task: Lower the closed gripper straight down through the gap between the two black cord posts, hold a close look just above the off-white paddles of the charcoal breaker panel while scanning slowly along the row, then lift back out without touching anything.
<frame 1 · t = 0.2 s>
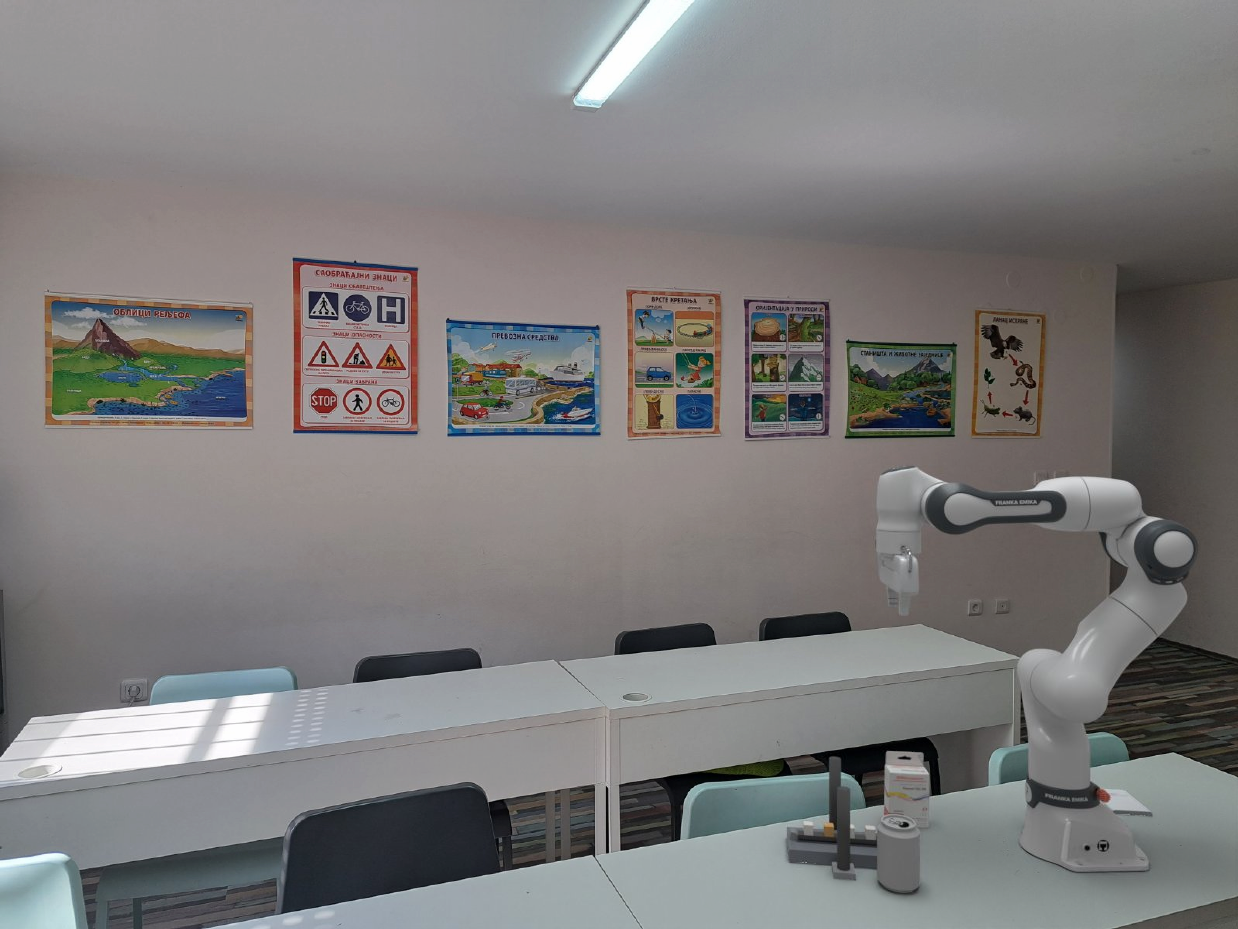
hand: (898, 611, 170), 47 cm above the table, tool pointing down, fingers open, 8 cm apart
ink cartridge box: (906, 823, 177), on the table
breaker paddles: (839, 832, 163), point 4 cm above the table, hinge at 0.0°
can: (898, 886, 151), on the table
cord post 1: (834, 836, 171), on the table
external hard drive: (1119, 807, 187), on the table
cord post 2: (843, 874, 155), on the table
breaker panel: (839, 854, 163), on the table
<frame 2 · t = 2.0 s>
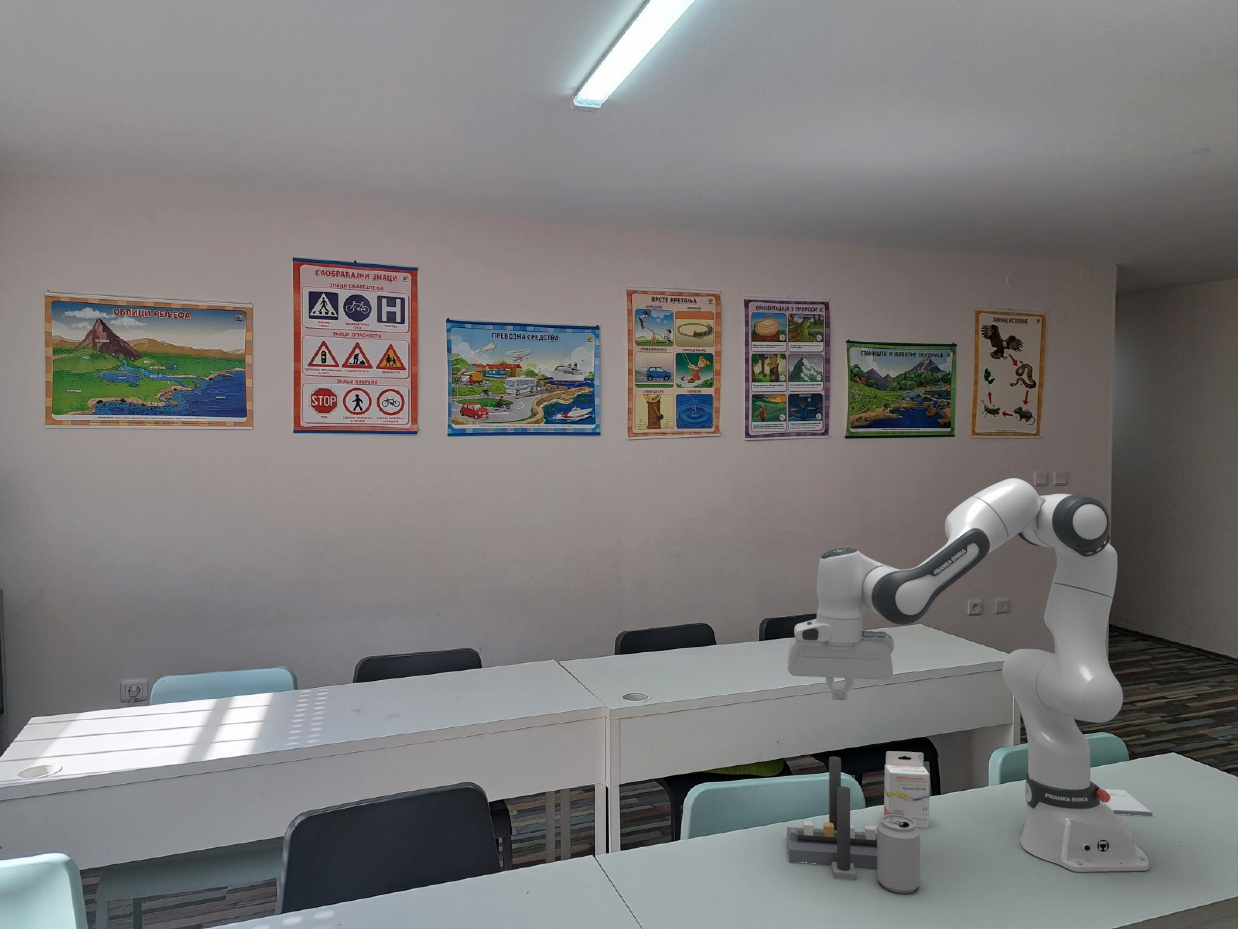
hand: (839, 699, 163), 31 cm above the table, tool pointing down, fingers closed
nothing on the table moved.
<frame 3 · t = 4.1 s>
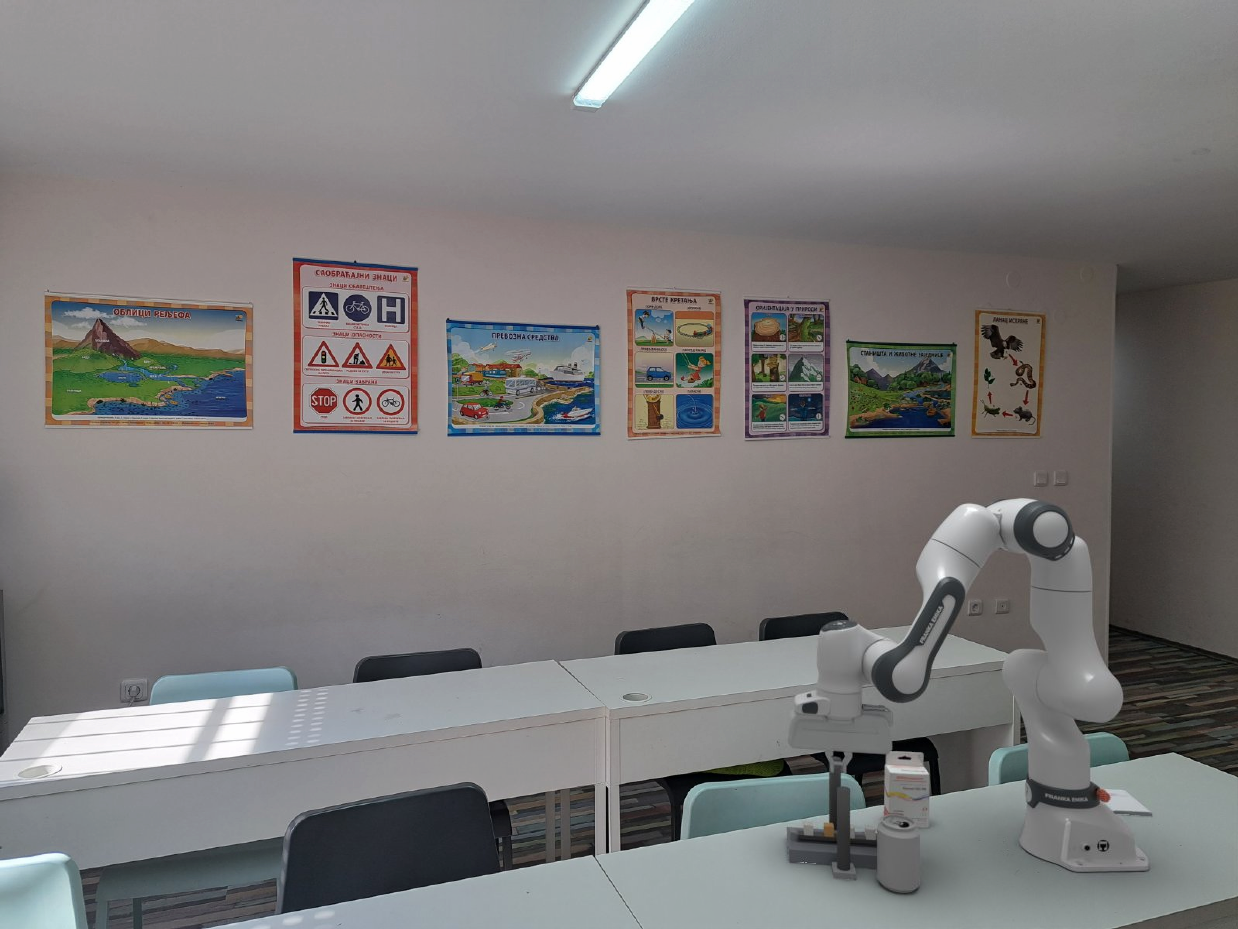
hand: (838, 772, 163), 16 cm above the table, tool pointing down, fingers closed
nothing on the table moved.
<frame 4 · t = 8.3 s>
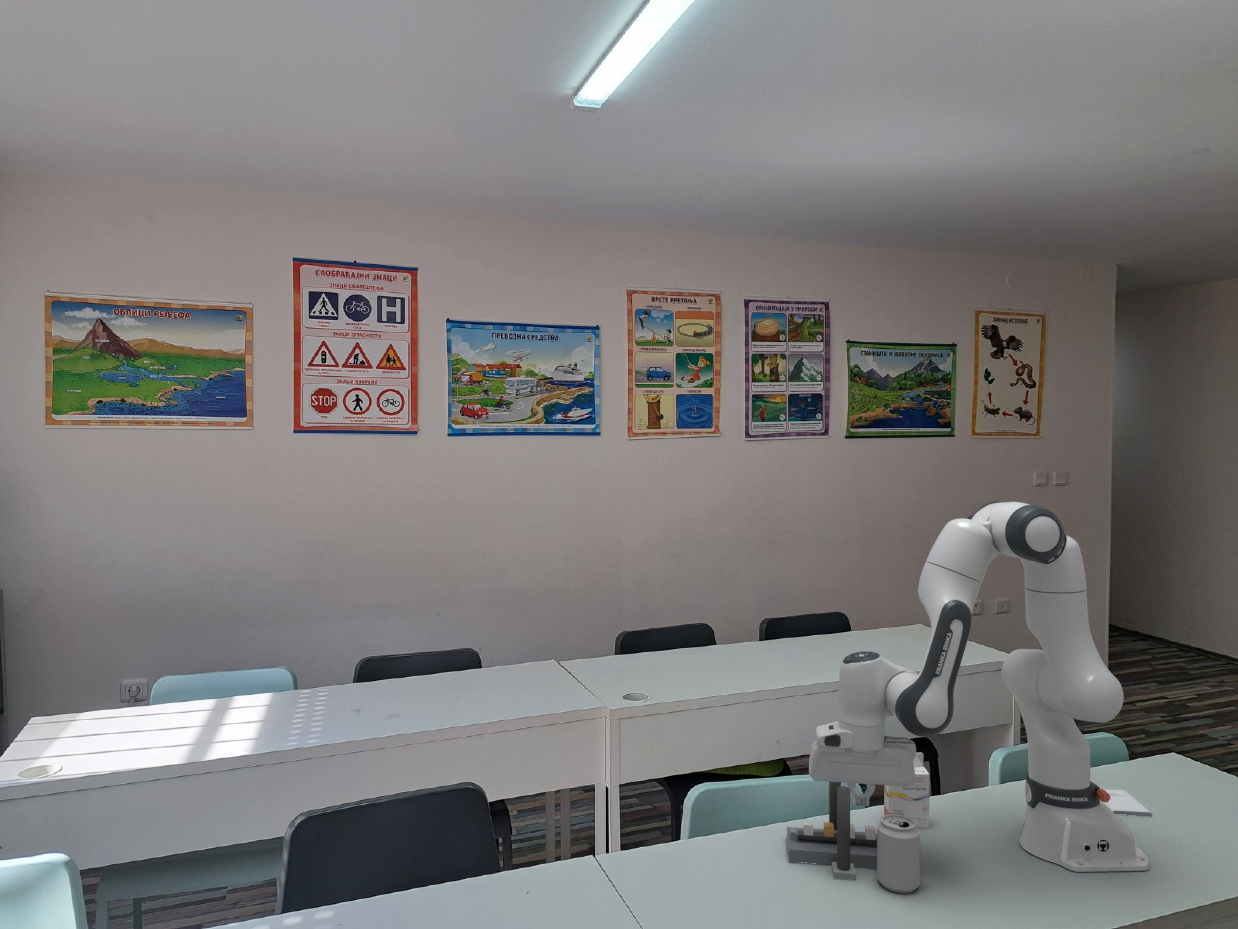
hand: (861, 804, 162), 10 cm above the table, tool pointing down, fingers closed
nothing on the table moved.
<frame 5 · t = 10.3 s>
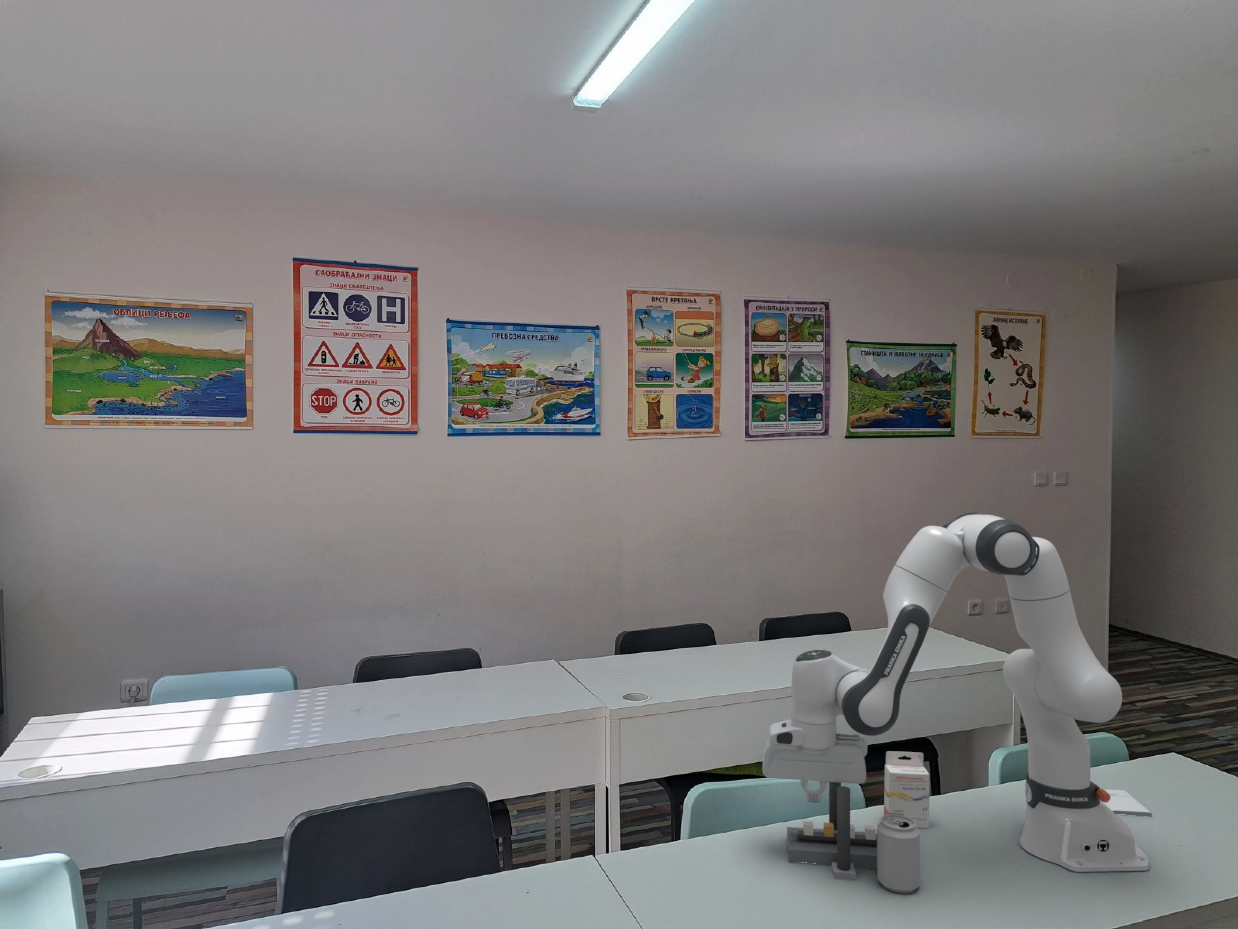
hand: (813, 801, 164), 10 cm above the table, tool pointing down, fingers closed
nothing on the table moved.
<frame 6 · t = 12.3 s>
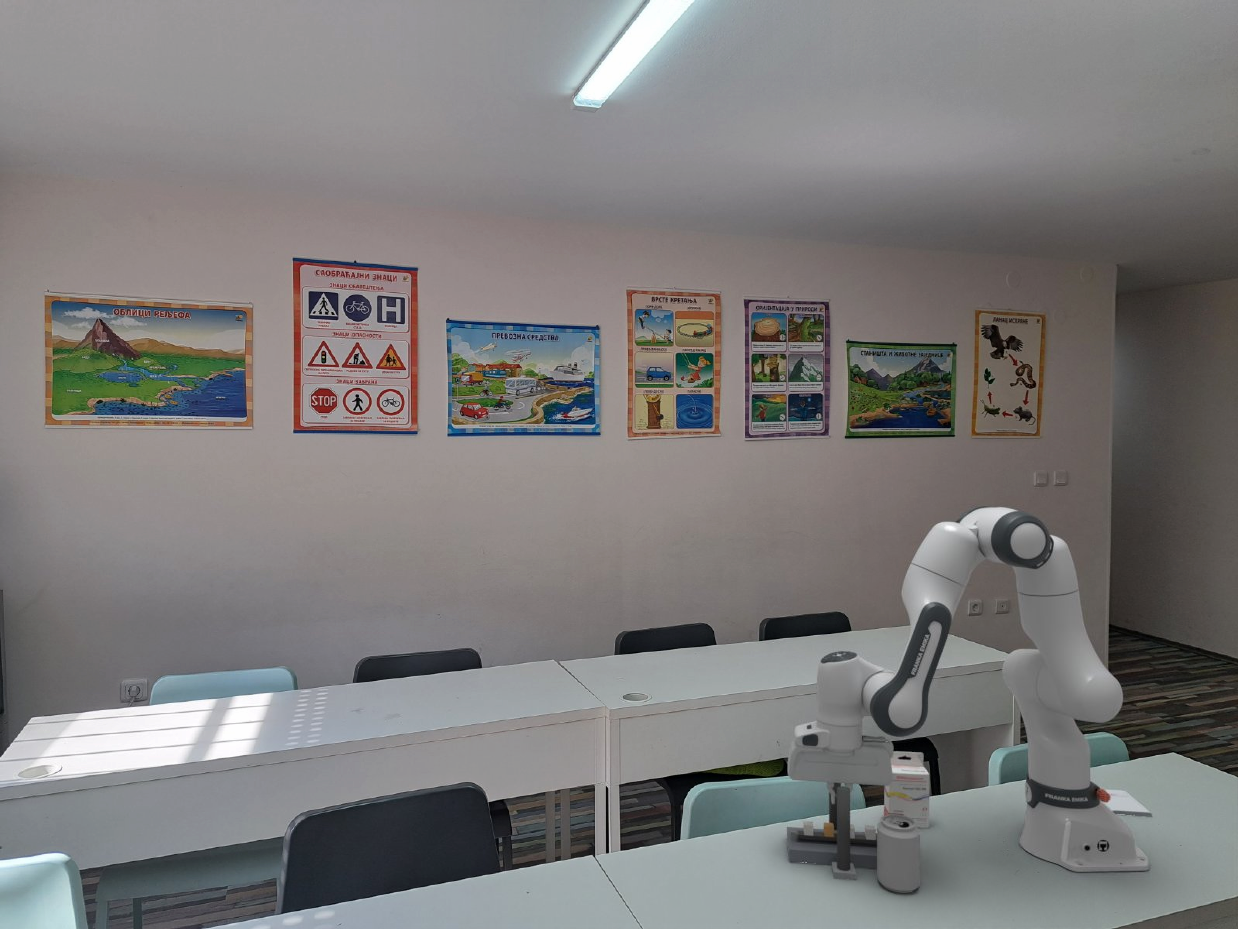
hand: (839, 803, 163), 10 cm above the table, tool pointing down, fingers closed
nothing on the table moved.
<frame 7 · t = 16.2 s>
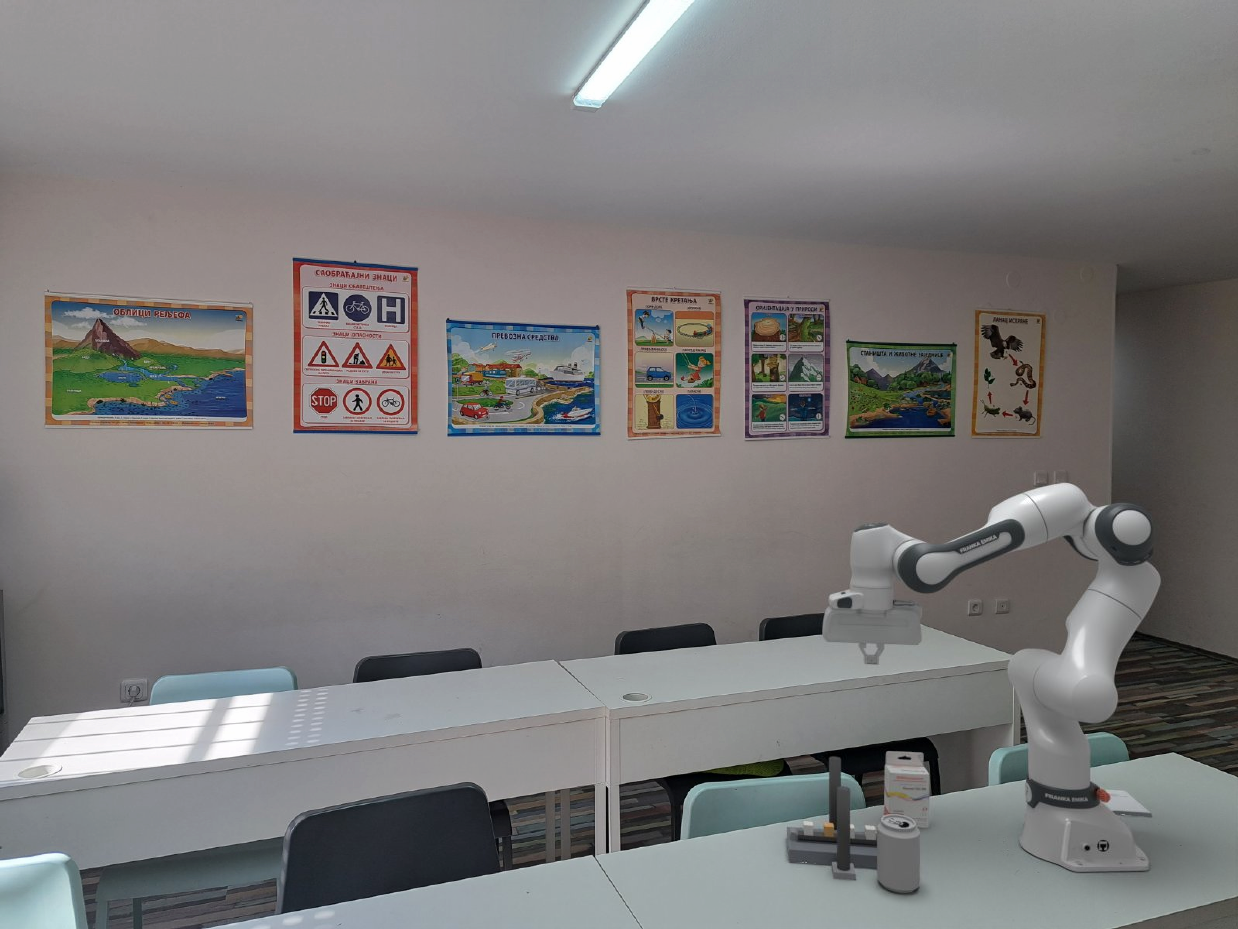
hand: (871, 664, 175), 35 cm above the table, tool pointing down, fingers closed
nothing on the table moved.
at the end: cord post 2 moved 0.0 cm from its start; cord post 1 moved 0.0 cm from its start; breaker paddles at +0° (first picture: +0°) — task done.
